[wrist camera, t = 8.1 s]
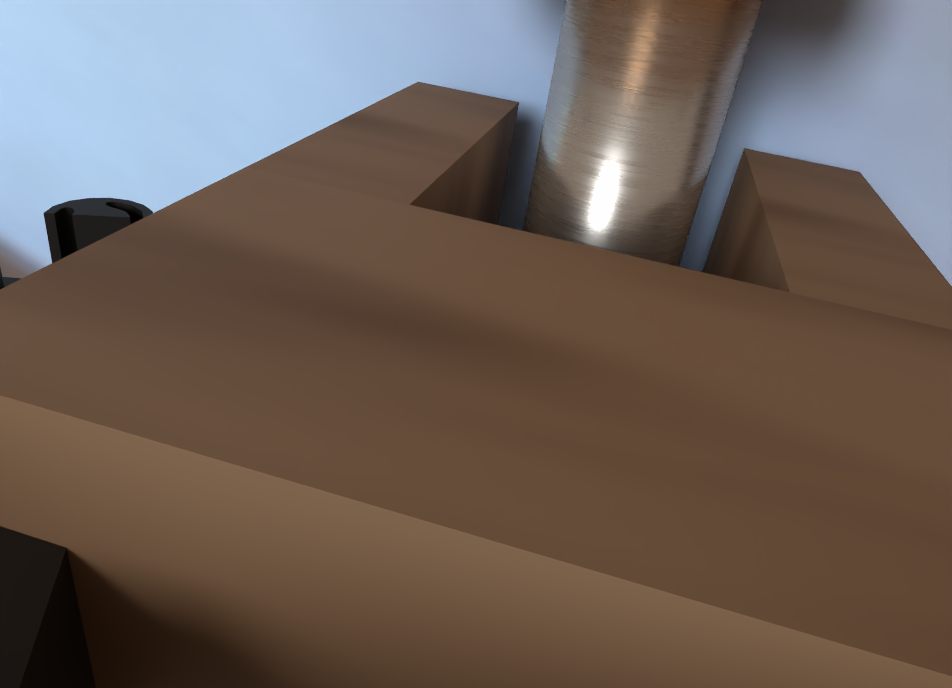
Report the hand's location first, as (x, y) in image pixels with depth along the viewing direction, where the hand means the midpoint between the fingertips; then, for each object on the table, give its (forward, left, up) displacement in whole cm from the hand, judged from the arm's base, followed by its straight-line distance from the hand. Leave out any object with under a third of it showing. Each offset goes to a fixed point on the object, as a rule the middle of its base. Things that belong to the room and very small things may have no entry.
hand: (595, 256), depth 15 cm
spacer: (0, 0, -1) cm, 1 cm away
